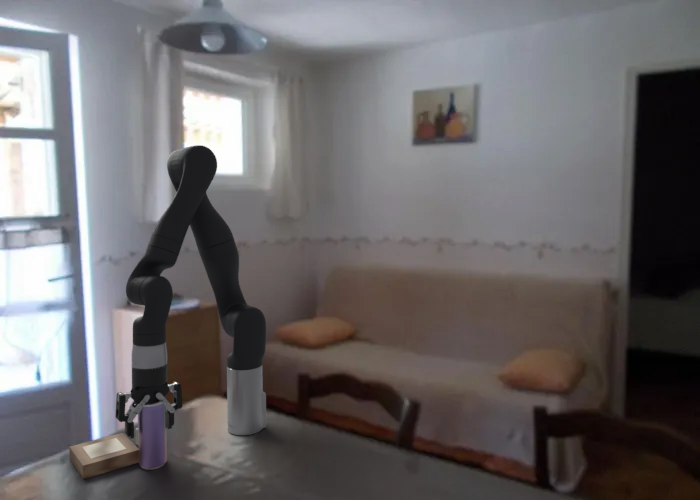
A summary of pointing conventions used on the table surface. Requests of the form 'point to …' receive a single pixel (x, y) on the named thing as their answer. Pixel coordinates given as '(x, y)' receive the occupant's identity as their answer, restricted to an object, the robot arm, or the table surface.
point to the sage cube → (137, 436)
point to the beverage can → (152, 435)
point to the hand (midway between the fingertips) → (150, 432)
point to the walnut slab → (103, 455)
